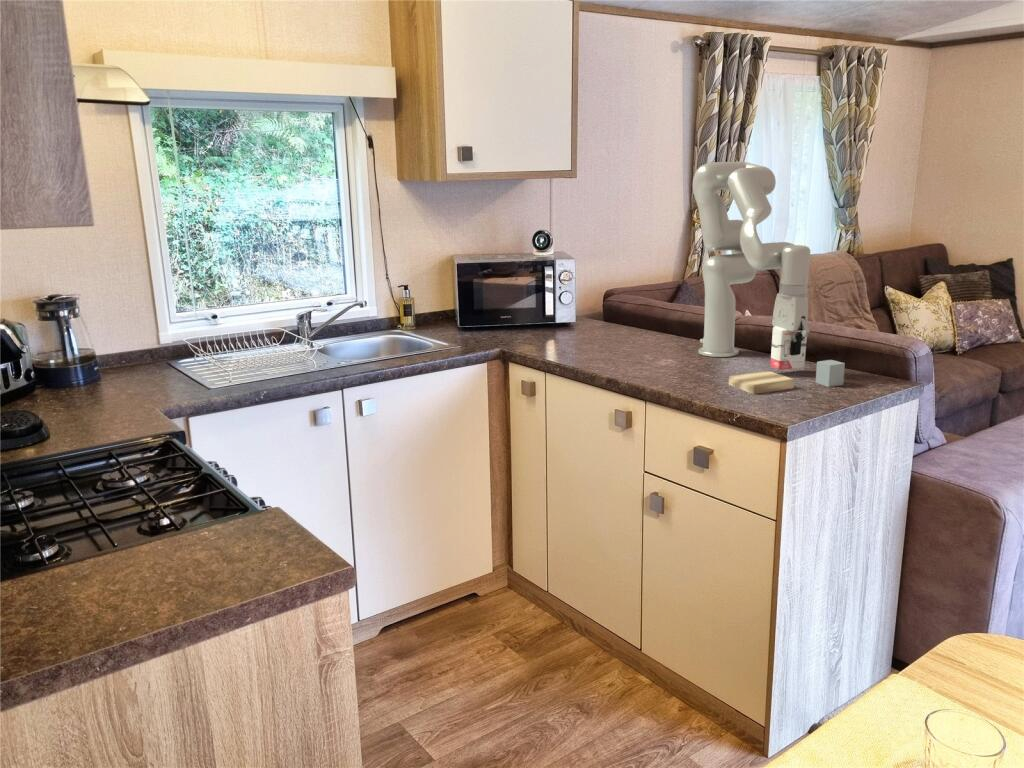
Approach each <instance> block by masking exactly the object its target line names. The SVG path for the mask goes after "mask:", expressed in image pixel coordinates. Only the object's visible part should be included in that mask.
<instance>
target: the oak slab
mask: <svg viewBox="0 0 1024 768" xmlns="http://www.w3.org/2000/svg"><path fill="white" fill-rule="evenodd" d="M728 385H729V386H730V385H731V386H730V387H733V386H734V387H733V388H736V389H739V390H741V391H743V392H747V393H750V394H751V395H756V394H757V395H758V394H764V393H771V392H772V393H773V392H778V391H785V390H791V389H792V390H793V389H794V388H795V379H794V378H791V377H788V376H785V375H782V374H780V373H776V372H773V371H770V370H763V371H755V372H750V373H741V374H733V375H729V376H728Z"/></svg>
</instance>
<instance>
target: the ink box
mask: <svg viewBox="0 0 1024 768" xmlns="http://www.w3.org/2000/svg"><path fill="white" fill-rule="evenodd" d="M798 330H799V329H798ZM795 331H796V330H795ZM771 335H772V336H771V337H772V338H771V350H770V352H771V353H770V363H769V366H770V367H772V368H774V369H776V370H781V371H782V370H783V371H784V370H791V369H802V368H804V367H805V363H806V351H807V350H806V349H807V340H808V335H807V336H806V337H805V338H804V339H803V341H801V352H800V354H799V355H790V347H791V341H793V339H792V332H789V331H787V330H785V329H783V328H780V327H777V326H775V327H774V326H773V327H772V334H771ZM797 335H798V333H796V336H797Z"/></svg>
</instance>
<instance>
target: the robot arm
mask: <svg viewBox="0 0 1024 768" xmlns="http://www.w3.org/2000/svg"><path fill="white" fill-rule="evenodd" d="M692 178H693V179H692V193H693V195H694V199H695V202H696V205H697V208H698V213H699V214H698V215H699V221H700V222H699V223H700V229H701V235H702V241H703V246H704V248H705V249H706V250H708V251H709V252H725V251H727V252H728V251H730V252H731V254H730V253H728V254H719V255H713V256H711V257H708V258H707V259H706V260H705V262H704V263H703V265H702V267H701V268H702V270H701V271H702V272H701V273H702V279H703V285H704V324H703V326H704V328H703V337H702V338H700V339H699V343H700V344H702V347H699V349H698V354H700V355H702V356H706V357H712V358H728V357H735V356H737V355H739V353H740V350H739V349H738V348H736V347H735V330H736V329H735V328H736V303H737V302H736V296H735V293H734V291H733V289H732V287H731V285H738V284H745V283H749V282H751V281H753V279H755V277H756V275H757V271H767V270H768V271H769V270H777V269H779V270H780V275H779V284H778V285H779V288H778V289H779V290H778V293H777V294H776V297H775V300H774V306H773V311H772V313H773V314H772V321H771V324H772V326H773V327H775V326H777V327H780V328H783V329H785V330H787V331H789V332H792V339H793V341H791V347H790V355H799V354H800V352H801V341H803V339H804V338H805V337H806V336H807V337H808V335H809V334H810V329H809V327H808V322H809V299H808V286H809V274H810V272H809V271H810V261H811V249H810V247H809V246H806V245H800V244H799V245H798V244H794V243H791V242H788V241H780V242H779V241H778V242H766V243H762V241H761V238H760V236H759V234H758V231H757V226H758V225H759V224H760V223H762V222H763V221H765V220H766V219H768V217H770V215H771V214H772V212H773V211H772V209H773V208H772V206H771V203H770V202H769V198H768V197H767V196H768V195H770V194H771V193H772V192H773V191H774V190H775V188H776V185H777V184H776V181H777V180H776V176H775V174H774V172H773V171H772V170H771V169H770V168H768V167H766V166H763V165H760V164H755V163H750V162H747V161H717V162H716V161H714V162H708V163H705V164H703V165H700V166H699V167H698V168H697V169H696V171H695V172H694V175H693V177H692ZM718 191H730V193H731V195H732V197H733V200H734V203H735V204H736V207H737V208H738V211H739V213H740V215H741V218H742V219H730V218H729V215H728V209H727V205H726V203H725V201H724V199H723V197H722V196H721V195H720V194H719V193H718ZM798 329H799V330H798ZM795 330H796V331H795ZM796 333H798V335H797V336H796Z"/></svg>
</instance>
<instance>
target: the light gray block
mask: <svg viewBox="0 0 1024 768" xmlns="http://www.w3.org/2000/svg"><path fill="white" fill-rule="evenodd" d="M845 364H846V363H845V362H843V361H842V362H841V361H838V360H835V359H834V360H833V359H826V360H820V361H816V368H815V369H816V371H815V384H818V385H821V386H825V387H828V388H830V387H836V386H843V385H844V382H845V381H844V379H845Z"/></svg>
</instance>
